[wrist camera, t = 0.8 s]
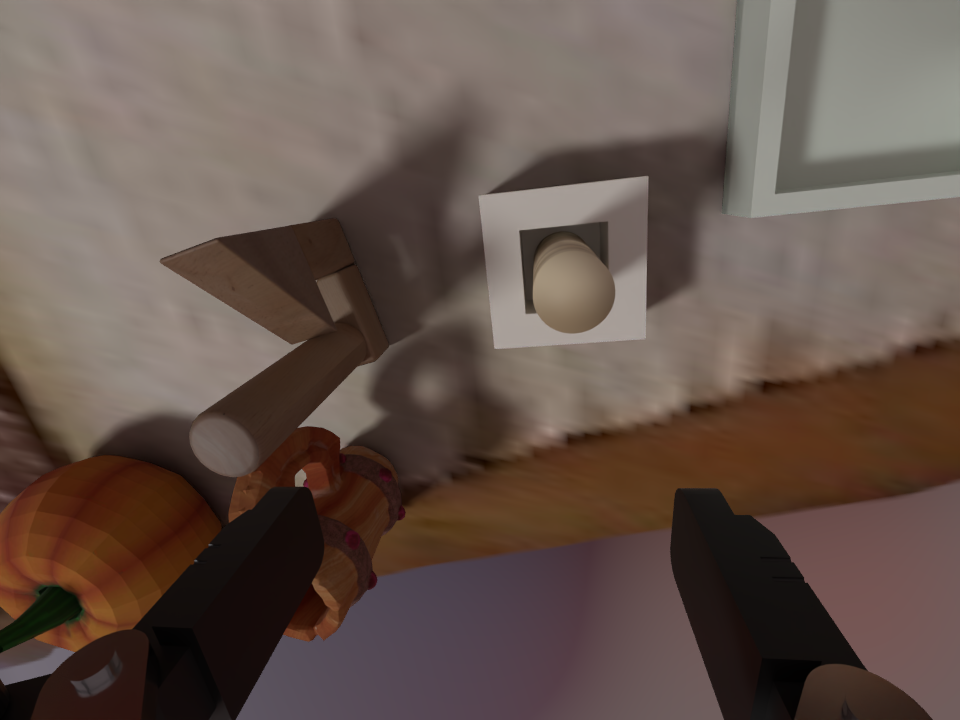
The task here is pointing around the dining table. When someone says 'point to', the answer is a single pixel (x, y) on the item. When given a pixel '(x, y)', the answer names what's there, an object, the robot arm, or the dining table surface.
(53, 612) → the pumpkin
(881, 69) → the tray
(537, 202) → the holder
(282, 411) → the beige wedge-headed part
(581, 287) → the dowel
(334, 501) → the mug
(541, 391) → the dining table surface
